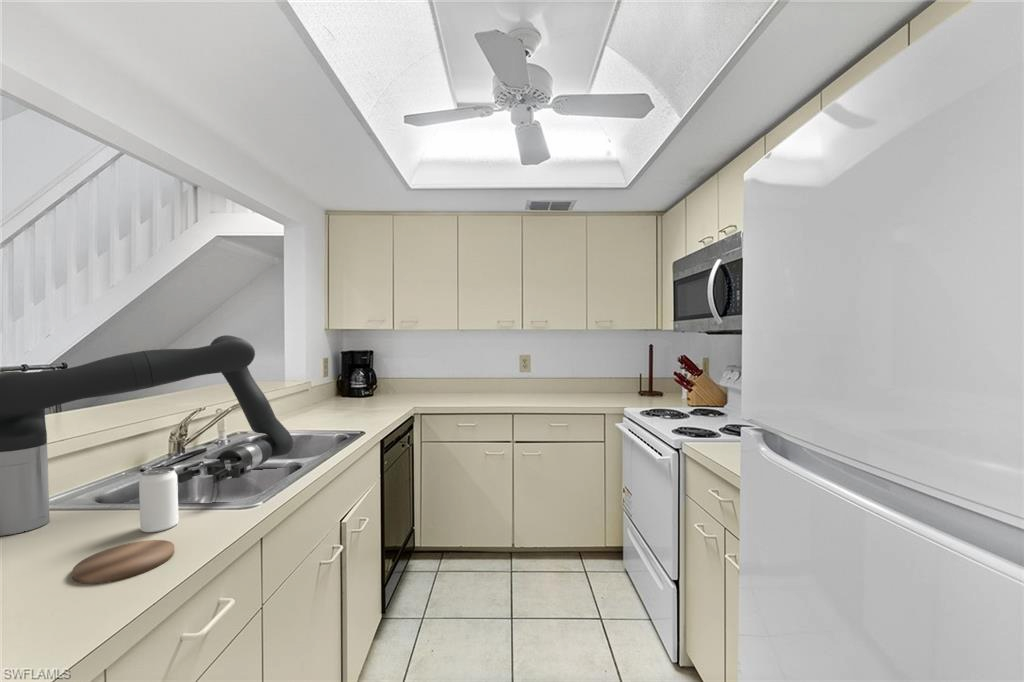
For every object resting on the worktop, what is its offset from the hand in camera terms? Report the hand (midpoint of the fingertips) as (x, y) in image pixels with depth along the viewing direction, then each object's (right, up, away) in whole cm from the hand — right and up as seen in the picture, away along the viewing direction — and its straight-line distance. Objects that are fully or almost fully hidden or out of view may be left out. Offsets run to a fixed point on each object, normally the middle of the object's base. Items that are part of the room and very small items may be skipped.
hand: (197, 478), depth 111 cm
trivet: (+5, -7, -27) cm, 28 cm away
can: (-1, -7, -11) cm, 13 cm away
